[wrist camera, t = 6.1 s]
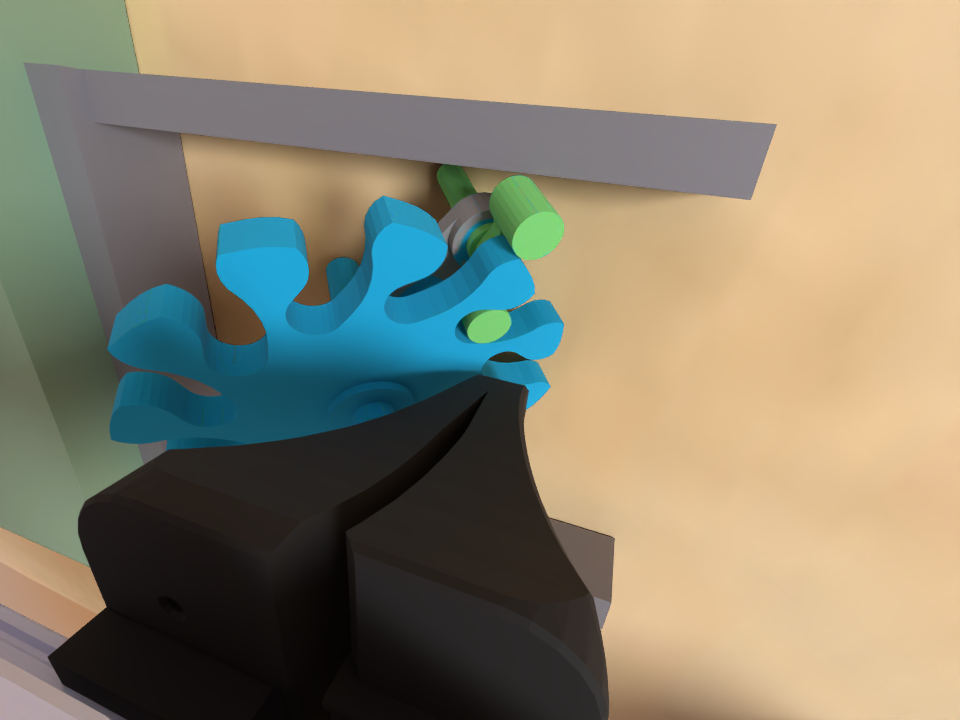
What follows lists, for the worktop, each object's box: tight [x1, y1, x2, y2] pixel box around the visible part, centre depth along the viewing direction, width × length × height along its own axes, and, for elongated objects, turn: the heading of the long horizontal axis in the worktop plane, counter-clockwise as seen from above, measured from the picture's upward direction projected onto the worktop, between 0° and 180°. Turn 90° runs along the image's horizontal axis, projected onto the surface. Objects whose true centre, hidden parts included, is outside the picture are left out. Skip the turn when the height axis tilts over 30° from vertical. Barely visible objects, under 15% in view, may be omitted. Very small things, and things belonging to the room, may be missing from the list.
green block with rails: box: [0, 0, 777, 629], centre depth 13 cm, size 20×29×6 cm
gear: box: [107, 164, 564, 451], centre depth 12 cm, size 11×6×10 cm
